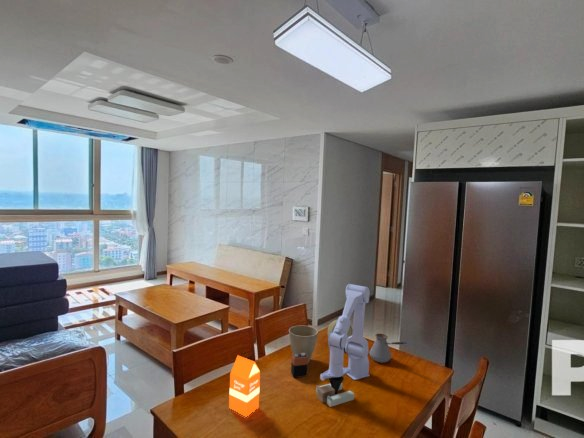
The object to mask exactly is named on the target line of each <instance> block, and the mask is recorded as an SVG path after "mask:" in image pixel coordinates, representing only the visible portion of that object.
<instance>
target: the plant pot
mask: <svg viewBox="0 0 584 438" xmlns="http://www.w3.org/2000/svg"><path fill="white" fill-rule="evenodd" d="M318 333H319V332H318V329H317V328H315V327H313V326H309V325H300V324H299V325H295V326H291V327H290V328H289V329H288V336H289V343H290V349H291V352H292V355H294V354H301V353H305V354H306V356H307V357H308V364H309V363H310V362H311V358H312V356H313V353H314V351H315V347H316V343H317V340H318V339H317V338H318Z"/></svg>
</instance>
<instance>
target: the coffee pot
mask: <svg viewBox="0 0 584 438" xmlns="http://www.w3.org/2000/svg"><path fill="white" fill-rule="evenodd" d="M374 336H375V340H374V342H373V345H371V349H370V350H369V351H368V354H369V356H370V357H371V359H372V360H373V361H374V362H376V363H379V362H380V363H381V364H385V362H386V363H388V362H389V361H390V360H391V359H392V357H393V355H392V352H391V350H390V347H389V345H399V346H400V345H404V347H405V348H407V347H408V345H409V343H407V342H405V341H394V342H393V341H391V342H388V341H387V339H388V337H389V336H388V335H387V334H385V333H376V334H374ZM380 363H379V364H380Z"/></svg>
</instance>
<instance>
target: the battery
mask: <svg viewBox="0 0 584 438" xmlns="http://www.w3.org/2000/svg"><path fill="white" fill-rule="evenodd" d="M308 364H309V363H308V357H307V356H306V354H305V353H301V354H294V355H293V354H292V355H291V367H290V374H291V375H292V377H293V378H300V377H306V376H308Z"/></svg>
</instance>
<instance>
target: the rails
mask: <svg viewBox="0 0 584 438" xmlns="http://www.w3.org/2000/svg"><path fill="white" fill-rule="evenodd" d="M327 385H330V386H331V384H330V382H329V383H326V384H323V385H316V389H315V393H316V394H317V388H319V387H323V386H327ZM340 390H343V382H342V383H341V385H340V387H339V390H338V391H340ZM354 400H355V393H354V392H353V391H351V390H348V391H344V392H341V393H337V394H335V395H333V396H327V402H326V405H328V407H329V408H330V407H331V408H332V407H334V406H337V405H340V404H344V403H347V402H349V401H354Z"/></svg>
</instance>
